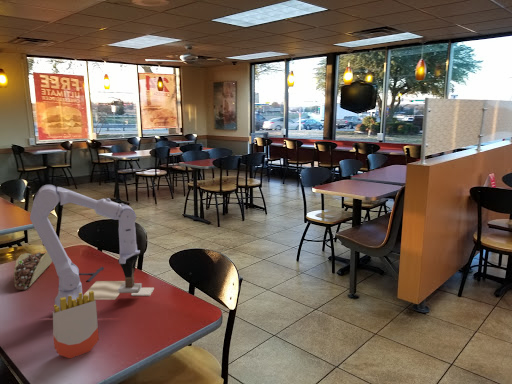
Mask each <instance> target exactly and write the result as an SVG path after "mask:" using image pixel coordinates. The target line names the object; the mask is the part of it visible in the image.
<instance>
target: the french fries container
mask: <svg viewBox="0 0 512 384" xmlns="http://www.w3.org/2000/svg"><path fill="white" fill-rule="evenodd" d="M82 294H83V292H82V293H79V297H77V298H76V300H77V303H76V300H75V299H73V300H72V296H68V301H67V302H68V304H67V302H66V298H65V297H63V298H60V308H59V306H57V305H55V304H54V305H53V307H54V308H53V309H54V310H52V330H53V331H52V336H53V344H54V349H55V350H56V353H57V354H58V355H59V356H61V357H65V358H68V359H72V358H76V357H78V356H80V355H83V354H86V353H89V352H91V350H93V348H94V347H95V345H97V342H98V341H99V340H100V338H99V337H100V336H99V335H100V334H99V327H98V323H99V322H98V313H97V301H96V300H95V299H94V292H93V291H90V292H89V299H88V295H84V294H83V299H82ZM60 310H61V311H60ZM75 356H76V357H75Z"/></svg>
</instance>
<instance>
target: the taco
mask: <svg viewBox="0 0 512 384" xmlns="http://www.w3.org/2000/svg"><path fill="white" fill-rule="evenodd" d="M52 263H53V262H52V260H51V258H50V256H49V254H48V252H47V251H46V252H44V253H41V252H37V253H35V254H32V253H28V252H27V253H26V252H24V253H22V254H20V255H19V256H18V258H17V259H16V261H15V264H14V269H13V277H14V278H13V280H14V287H15V289H16V290H19V291H24V290H27V289H29V288H30V286H31V285H33V284H34V282H35V281H36V280H37V279H38V278H39V277H40V276H41V275H42V274H43V273H44V272H45V271H46V269H48V267H49V266H50V265H51V264H52Z"/></svg>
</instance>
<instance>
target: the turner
mask: <svg viewBox="0 0 512 384" xmlns="http://www.w3.org/2000/svg"><path fill="white" fill-rule="evenodd" d="M124 281H125V283H122V285H121V286H120V287H119V289H118V293H120V294H132V293H138V292H139V291H140V289H141V288H143V287H142V285H143V283H142V282H139V283H138V282H137V283H135V272H134V268H133V270H132V277H125V276H124Z"/></svg>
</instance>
